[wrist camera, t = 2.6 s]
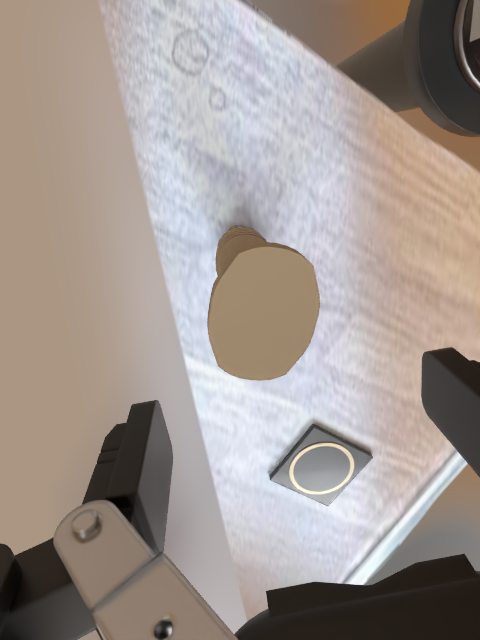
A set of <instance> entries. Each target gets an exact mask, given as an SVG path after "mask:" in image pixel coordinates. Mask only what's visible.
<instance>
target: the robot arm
mask: <svg viewBox="0 0 480 640" xmlns="http://www.w3.org/2000/svg"><path fill="white" fill-rule="evenodd" d="M453 47H454V54H455V58H456V62H457V65H458V67H459V70H460V72H461V74H462V76H463V77H464V79H465V80H466V81H467V83H468V84H469V85H470V86H471V87H472V88H473V89H474V90H476V91H477V92H479V93H480V0H460V1H459V4H458V7H457V11H456V15H455V20H454V27H453ZM421 397H422V403H423V406H424V409H425V411H426V413H427V415H428V416H429V418H430V419H431V420H432V421H433V422H434V424H435V425H436V426H437V427H438V428H439V429H440V431H441V432H442V433H443V434H444V435H445V437H446V438H447V439H448V440H449V441H450V443H451V444H452V445H453V446H454V447H455V448H456V450H457V451H458V452H459V453H460V454H461V456H462V457H463V458H464V459H465V460H466V462H467V463H468V464H469V465H470V466H471V467H472V468H473V470H474V471H475V472H476V473H477V475H478V476H479V477H480V362H477V361H475V360H471V361H469V360H468V359H467V358H465V357H464V356H463V355H462V354H460V353H459V352H458V351H456V350H455V349H454V348H452V347H449V348H443V349H438V350H432V351H427V352H425V353H424V354H423V357H422V390H421ZM172 465H173V453H172V445H171V441H170V437H169V434H168V430H167V427H166V423H165V420H164V416H163V413H162V409H161V406H160V403H159V401H158V400H154V401H149V402H143V403H138V404H133V405H132V406H131V409H130V412H129V416H128V419H127V423H122V424H117V425H116V426H115V427H114V428H113V429H112V430H111V431H110V433H109V434H108V435H107V436H106V437H105V440H104V443H103V446H102V449H101V453H100V454H99V457H98V460H97V465H96V466H95V469H94V472H93V475H92V478H91V480H90V483H89V486H88V489H87V492H86V495H85V497H84V500H83V503H82V505H81V506H79V507H77V508H76V509H74V510H73V511H72V512H70V513H69V514H68V515H67V516H66V517H65V518H64V519H63V520H62V521H61V522H60V524H59V525H58V527H57V529H56V531H55V534H54V537H53V538H52V539H50V540H48V541H46V542H44V543H42V544H39V545H37V546H35V547H33V548H30V549H28V550H26V551H24V552H22V553H19V554H17V555H15V556H14V554H13V552H12V551H11V549H10V548H9V547H8V546H7V545H5V544H0V640H77V639H79V638H81V637H83V636H85V635H87V634H89V633H90V632H92V631H94V630H96V632H97V634H98V636H99V638H100V640H480V571H475V570H474V568H473V567H472V565H471V563H470V562H469V561H468V559H467V557H466V556H465V554H461V555H455V556H450V557H445V558H439V559H434V560H429V561H423V562H418V563H415V564H413V565H411V566H409V567H407V568H405V569H403V570H401V571H399V572H397V573H395V574H393V575H391V576H389V577H387V578H385V579H383V580H381V581H379V582H377V583H375V584H373V585H367V586H364V585H351V584H337V583H324V582H311V583H306V584H301V585H295V586H290V587H285V588H279V589H274V590H269V591H266V594H267V601H268V609H267V610H265V611H263V612H261V613H259V614H258V615H256V616H255V617H253V618H252V619H250V620H249V621H248V622H247V623H245V624H244V625H243V626H242V627H241V628H240V629H239V630H238V631H237V632H236V633H235V634H233V633H232V632H231V630H230V629H229V628H228V627H227V626H226V624H225V623H224V622H223V621H222V620H221V619H220V617H219V616H218V615H217V614H216V613H215V612H214V611H213V609H212V608H211V607H210V606H209V604H207V602H206V601H205V600H204V599H203V598H202V597H201V595H200V594H199V593H198V592H197V590H196V589H195V588H194V587H193V586H192V585H191V584H190V582H189V581H188V580H187V579H186V577H185V576H184V575H183V574H182V573H181V572H180V570H179V569H178V568H177V567H176V566H175V565H174V563H173V562H172V561H171V560H170V559H169V558H168V557H167V556H166V555H165V554H164V553H163V551H164V542H165V532H166V523H167V513H168V503H169V493H170V484H171V475H172Z"/></svg>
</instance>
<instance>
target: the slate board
mask: <svg viewBox="0 0 480 640" xmlns="http://www.w3.org/2000/svg"><path fill="white" fill-rule="evenodd" d="M372 458H373V456H372V455H371V454H370V453H368V452H366V451H364V450H362V449H360V448H358V447H356V446H355V445H353V444H351V443H349V442H347V441H345V440H343V439H341V438H339V437H337V436H335V435H333V434H331V433H329V432H328V431H326V430H324V429H322V428H320V427H318V426H316V425H314V424H313V425H312V426H311V427H310V429H309V430H308V431H307V432H306V433H305V435H304V436H303V437H302V438H301V439H300V441H299V442H298V443H297V444H296V445H295V447H294V448H293V449H292V450H291V451H290V453H289V454H288V455H287V456H286V458H285V459H284V460H283V461H282V462H281V464H280V465H279V466H278V467H277V468H276V470H275V471H274V472H273V473H272V474H271V476H270V480H271V481H274V482H276V483H278V484H280V485H282V486H285V487H287V488H289V489H291V490H293V491H296V492H298V493H300V494H302V495H304V496H306V497H309V498H311V499H313V500H315V501H317V502H320V503H322V504H324V505H326V506H329V505H330V504H331V503H332V501H333V500H334V499H335V498H336V497H337V496H338V495H339V494H340V493H341V492H342V491H343V489H344V488H345V487H346V486H347V485H348V484H349V483H350V482H351V481H352V480H353V479H354V477H355V476H356V475H357V474H358V473H359V472H360V471H361V470H362V469H363V468H364V467H365V466H366V464H367V463H368V462H369V461H370V460H371V459H372Z"/></svg>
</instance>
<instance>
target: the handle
mask: <svg viewBox="0 0 480 640" xmlns="http://www.w3.org/2000/svg"><path fill="white" fill-rule="evenodd" d="M216 271H217V275H218V277H217V279H216V280H215V282H214V284H213V288H212V292H211V298H210V304H209V311H208V334H209V340H210V343H211V346H212V350H213V353H214V355H215V358H216V361H217V364H218V366H219V367H220V368H221V369H223V370H224V371H225V372H227V373H229V374H230V375H233V376H236V377H239V378H243V379H248V380H271V379H274V378H278V377H280V376H283V375H285V374H287V372H288V371H289V370H290V369H291V368H292V367H293V366H294V364H295V363H296V362H297V361H298V360H299V358H300V357H301V356H302V355H303V354H304V352H305V351H306V349H307V347H308V346H309V344H310V342H311V339H312V336H313V333H314V329H315V326H316V322H317V318H318V314H319V308H320V297H319V290H318V285H317V280H316V275H315V271H314V266H313V265H312V264H311V263H310V262H309V261H308V260H307V259H306V258H305V257H304V256H303V255H302V254H300V253H299V252H298V251H296V250H295V249H292V248H290V247H288V246H285V245H281V244H277V243H270V242H267V241H266V240H265V239H264V238H263V237H262V236H261V235H260V234H259V233H257V232H256V231H254V230H253V229H251V228H243V227H241V228H240V227H238V226H232V227H231V228H230V230H229V231H228V232H227V233H226V234H225V235H224V236H223V237H222V238H221V239H220V240H219V243H218V247H217V252H216Z"/></svg>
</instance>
